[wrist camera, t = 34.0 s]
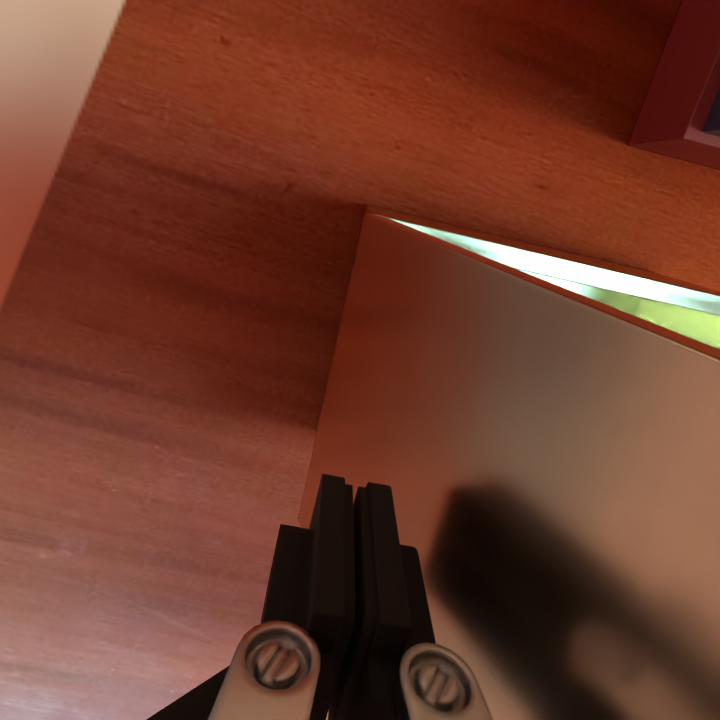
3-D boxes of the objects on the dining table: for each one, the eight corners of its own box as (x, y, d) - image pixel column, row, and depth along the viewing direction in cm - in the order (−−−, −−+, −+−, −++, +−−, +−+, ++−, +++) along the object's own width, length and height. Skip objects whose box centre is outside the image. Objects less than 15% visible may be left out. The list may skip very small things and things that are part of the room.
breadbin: (656, 272, 27) (771, 307, 20) (567, 477, 32) (634, 567, 24) (366, 203, 25) (374, 214, 18) (315, 430, 30) (306, 511, 23)
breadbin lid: (1458, 638, 3) (1433, 655, 2) (551, 1322, 7) (505, 1356, 7) (385, 216, 18) (364, 212, 18) (314, 518, 22) (297, 518, 22)
